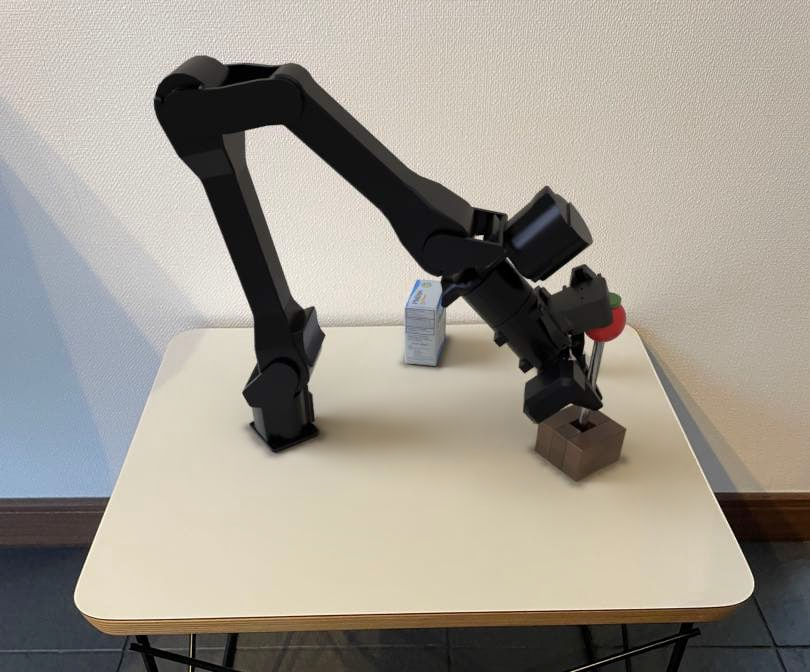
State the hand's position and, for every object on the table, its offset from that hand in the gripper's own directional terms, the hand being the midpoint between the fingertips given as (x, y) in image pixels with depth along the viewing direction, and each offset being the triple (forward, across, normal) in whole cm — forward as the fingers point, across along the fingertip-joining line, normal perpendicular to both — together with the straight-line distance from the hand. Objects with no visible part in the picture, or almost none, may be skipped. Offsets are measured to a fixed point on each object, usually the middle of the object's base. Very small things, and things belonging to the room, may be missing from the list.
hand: (599, 404), depth 85 cm
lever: (+4, 0, +6) cm, 7 cm away
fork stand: (+4, 0, +6) cm, 7 cm away
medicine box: (-10, +20, +21) cm, 31 cm away
